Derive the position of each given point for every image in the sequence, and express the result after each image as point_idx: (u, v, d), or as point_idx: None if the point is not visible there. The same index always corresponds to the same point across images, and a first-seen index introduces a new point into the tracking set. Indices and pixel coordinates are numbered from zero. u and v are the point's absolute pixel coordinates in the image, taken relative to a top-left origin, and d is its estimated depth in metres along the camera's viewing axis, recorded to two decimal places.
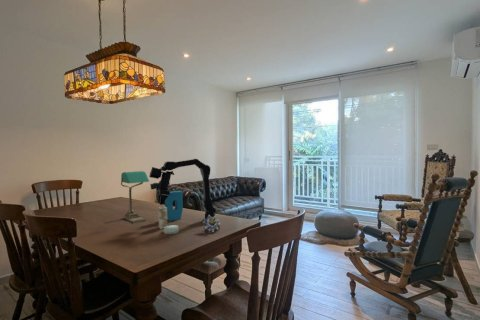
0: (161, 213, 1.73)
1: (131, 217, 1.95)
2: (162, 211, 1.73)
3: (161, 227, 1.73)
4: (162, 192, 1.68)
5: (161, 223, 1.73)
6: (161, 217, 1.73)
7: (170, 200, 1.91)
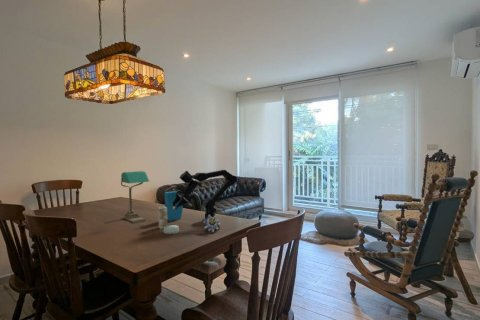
0: (161, 213, 1.73)
1: (131, 217, 1.95)
2: (162, 211, 1.73)
3: (161, 227, 1.73)
4: (185, 196, 1.73)
5: (161, 223, 1.73)
6: (161, 217, 1.73)
7: (170, 200, 1.91)
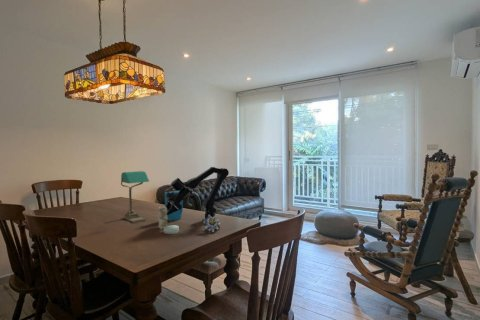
0: (161, 213, 1.73)
1: (131, 217, 1.95)
2: (162, 211, 1.73)
3: (161, 227, 1.73)
4: (176, 204, 1.70)
5: (161, 223, 1.73)
6: (161, 217, 1.73)
7: None
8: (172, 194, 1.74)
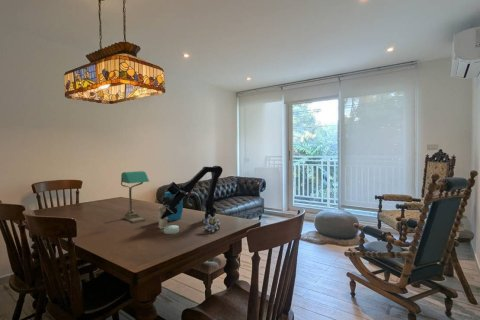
0: (161, 213, 1.73)
1: (131, 217, 1.95)
2: (162, 211, 1.73)
3: (161, 227, 1.73)
4: (171, 208, 1.69)
5: (161, 223, 1.73)
6: None
7: None
8: (167, 198, 1.72)
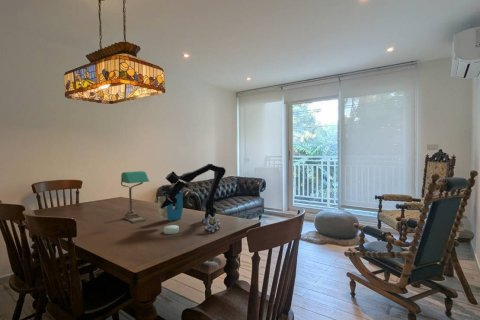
0: (161, 202, 1.72)
1: (131, 217, 1.95)
2: (162, 201, 1.73)
3: (161, 216, 1.73)
4: (171, 197, 1.68)
5: (161, 212, 1.73)
6: None
7: None
8: (167, 188, 1.72)
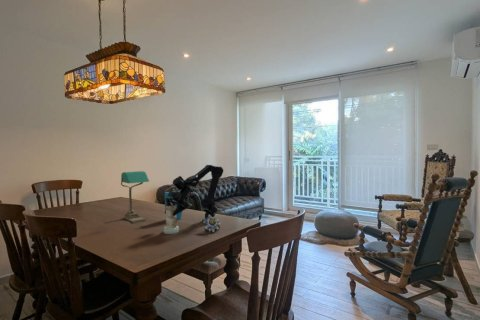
0: (171, 212, 1.63)
1: (131, 217, 1.95)
2: (172, 210, 1.64)
3: (171, 227, 1.64)
4: (184, 203, 1.62)
5: (171, 223, 1.64)
6: (171, 216, 1.64)
7: None
8: (177, 193, 1.65)
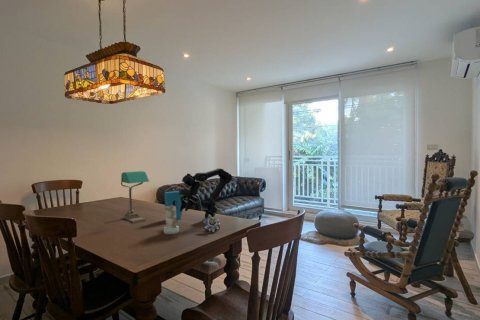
0: (171, 212, 1.63)
1: (131, 217, 1.95)
2: (171, 210, 1.64)
3: (171, 227, 1.64)
4: (192, 197, 1.69)
5: (171, 223, 1.63)
6: (171, 216, 1.63)
7: (170, 200, 1.91)
8: (185, 190, 1.73)
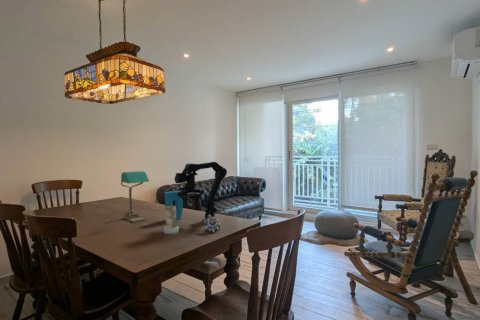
0: (171, 212, 1.63)
1: (131, 217, 1.95)
2: (171, 210, 1.64)
3: (171, 227, 1.64)
4: (177, 194, 1.76)
5: (171, 223, 1.64)
6: (171, 216, 1.63)
7: (170, 200, 1.91)
8: (179, 187, 1.82)
